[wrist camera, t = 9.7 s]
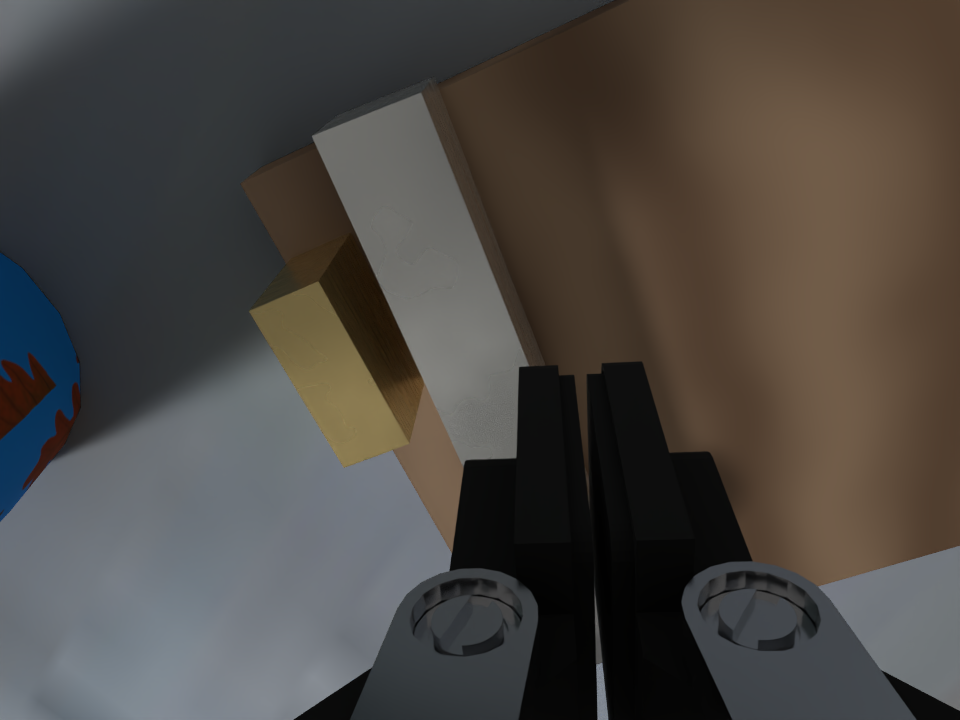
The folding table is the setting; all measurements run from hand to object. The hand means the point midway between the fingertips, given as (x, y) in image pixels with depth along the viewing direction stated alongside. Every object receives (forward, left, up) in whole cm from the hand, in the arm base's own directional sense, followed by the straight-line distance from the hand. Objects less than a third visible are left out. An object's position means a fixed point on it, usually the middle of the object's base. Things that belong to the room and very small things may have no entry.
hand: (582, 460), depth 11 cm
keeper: (-7, -1, -13) cm, 15 cm away
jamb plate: (+2, -6, -15) cm, 16 cm away
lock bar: (-3, -4, -13) cm, 14 cm away
